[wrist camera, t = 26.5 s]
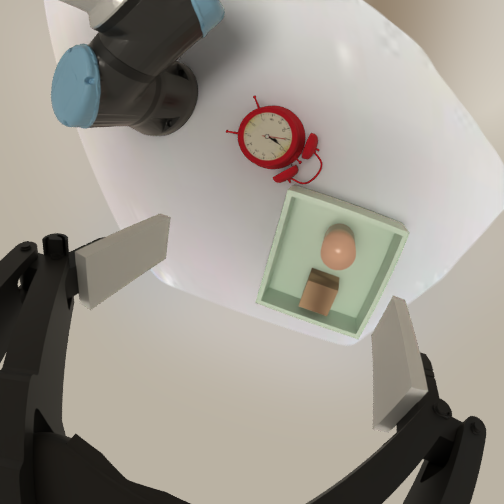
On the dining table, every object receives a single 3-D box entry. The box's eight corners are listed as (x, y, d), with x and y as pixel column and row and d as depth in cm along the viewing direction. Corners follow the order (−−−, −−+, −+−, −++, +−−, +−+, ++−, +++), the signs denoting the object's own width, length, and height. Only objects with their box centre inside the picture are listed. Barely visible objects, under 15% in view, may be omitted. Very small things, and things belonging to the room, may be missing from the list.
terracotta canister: (320, 247, 46) (315, 263, 40) (329, 219, 44) (327, 231, 37) (348, 257, 45) (348, 274, 39) (358, 229, 43) (361, 243, 36)
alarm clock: (256, 85, 37) (332, 146, 34) (273, 97, 42) (340, 153, 40) (216, 137, 42) (282, 201, 39) (236, 143, 47) (296, 201, 44)
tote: (264, 287, 52) (255, 302, 47) (294, 184, 44) (287, 189, 39) (358, 321, 49) (358, 339, 44) (402, 223, 41) (409, 232, 36)
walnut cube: (303, 291, 49) (298, 306, 45) (312, 267, 47) (308, 280, 43) (329, 301, 48) (326, 316, 44) (339, 277, 46) (338, 290, 42)
